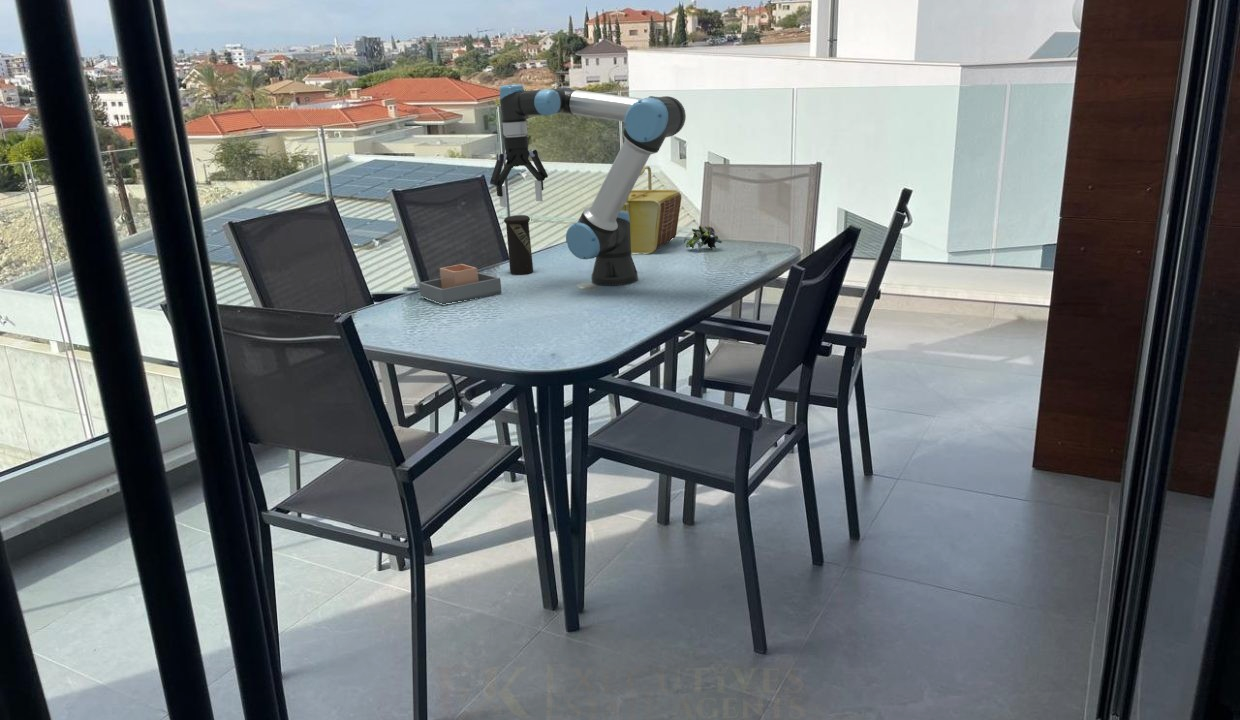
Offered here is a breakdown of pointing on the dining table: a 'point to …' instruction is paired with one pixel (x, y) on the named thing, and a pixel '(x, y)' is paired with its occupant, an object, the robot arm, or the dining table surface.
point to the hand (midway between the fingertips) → (521, 204)
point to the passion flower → (703, 237)
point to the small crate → (458, 275)
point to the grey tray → (461, 289)
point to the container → (519, 244)
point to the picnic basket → (652, 216)
